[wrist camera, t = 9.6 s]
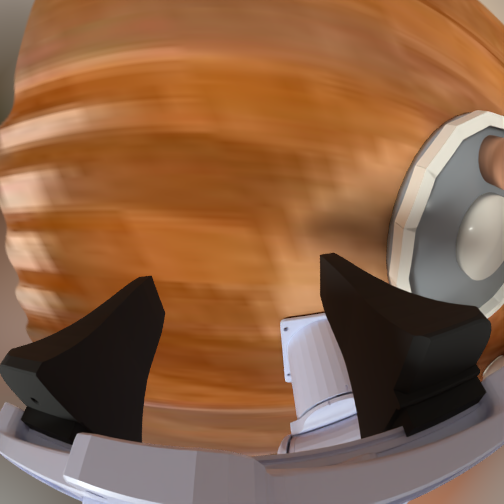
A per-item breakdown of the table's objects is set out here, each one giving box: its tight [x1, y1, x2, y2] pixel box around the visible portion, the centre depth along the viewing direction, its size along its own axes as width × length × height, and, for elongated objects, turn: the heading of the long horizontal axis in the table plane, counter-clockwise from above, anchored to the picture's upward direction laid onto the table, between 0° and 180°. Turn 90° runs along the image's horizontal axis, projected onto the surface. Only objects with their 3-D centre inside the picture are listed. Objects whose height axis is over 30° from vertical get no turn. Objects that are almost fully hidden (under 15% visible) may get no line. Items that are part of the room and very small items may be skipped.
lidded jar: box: [482, 355, 504, 381], centre depth 29 cm, size 11×11×9 cm
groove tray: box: [386, 110, 504, 319], centre depth 19 cm, size 24×24×2 cm
